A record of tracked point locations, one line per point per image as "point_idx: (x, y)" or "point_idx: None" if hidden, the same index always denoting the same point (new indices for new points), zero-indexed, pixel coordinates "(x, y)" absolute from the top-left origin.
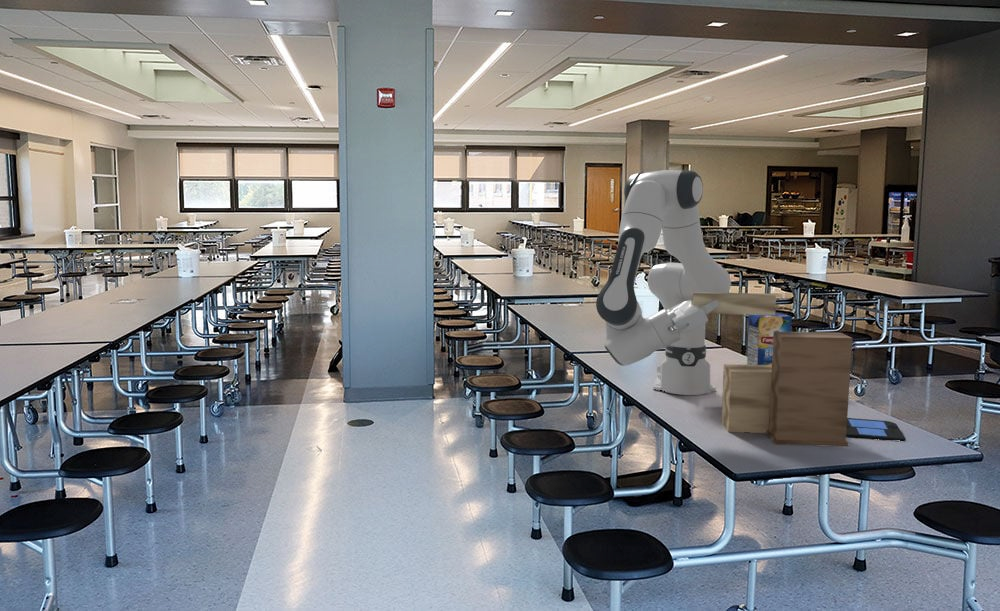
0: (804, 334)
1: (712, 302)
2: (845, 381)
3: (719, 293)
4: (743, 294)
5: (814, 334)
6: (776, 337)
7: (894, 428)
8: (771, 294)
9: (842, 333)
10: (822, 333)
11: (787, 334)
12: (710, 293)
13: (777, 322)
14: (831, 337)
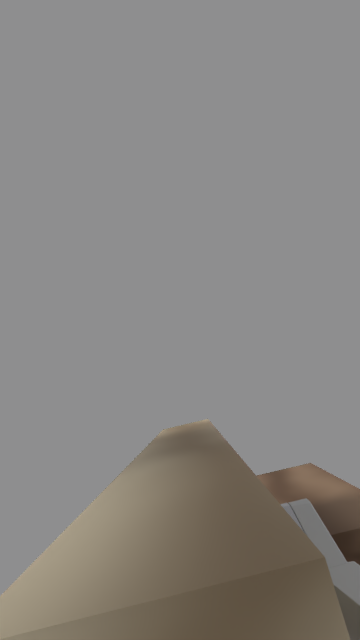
0: (311, 497)
1: (334, 541)
2: None
3: (187, 457)
4: (212, 429)
5: (298, 490)
6: (345, 550)
7: None
8: (188, 424)
9: (257, 475)
10: (273, 486)
11: (340, 515)
12: (203, 472)
13: None
14: (325, 473)
